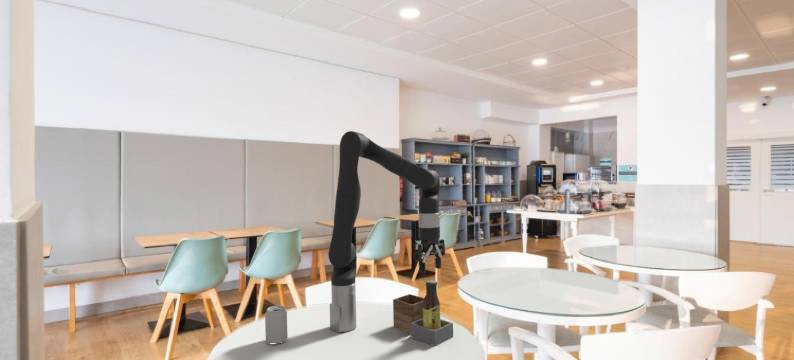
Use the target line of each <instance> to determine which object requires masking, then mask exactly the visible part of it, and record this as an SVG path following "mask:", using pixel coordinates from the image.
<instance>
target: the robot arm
mask: <svg viewBox="0 0 794 360" xmlns="http://www.w3.org/2000/svg"><path fill="white" fill-rule="evenodd" d="M360 158H363V159H367V160H369V161H371V162H374V163H376V164H378V165H379V166H381V167H383V168H384V169H385V170H387V171H389V172H390V173H391V174H394V175H395V176H398V177H400V178H403V179H404V180H407V181H408V182H410V183H411V184H412V185H414V186H415V187H417V188H420V189H421V195H420V198H419V199H418V239H420V243H415V244H414V245H413V246H414V247H413V248H414V249H413V260H414V262H418V272H419V273H421V274H426V260H427V258H429V255H432V254H433V256H434V267H435V269H441V268H442V258H443V256H446V246H445V245H446V244H445V239H442V238H441V224H440V223H441V220H440V213H439V209H440V208H439V205H440V204H439V196H440V187H441V182H440V181H441V179H440V175H439V174H438V172H437V171H436V170H433V169H428V168H427V169H426V168H424V167H422V166H420V165H419V164H418V165H417V163H416V162H414V161H412V160H411V159H409V158H407V157H405V156H403V155H400V154H398V153H395V152H393V151H390V150H388V149H386V148H384V147H382V146H380V145H379V144H377V143H376V142H374V141H373V140H371V139H370V138H368V137H367V136H366V135H365V134H363V133H360V132H357V131H353V130H348V131H346V132H345V133H343V135H342V136H341V138H340V142H339V166H338V167H339V169H338V176H337V188H336V194H335V205H334V215H333V230H332V235H331V240H330V244H329V249H328V253H327V255H328V260H329V262H330V264H331V265H332V266H333V269H332V274H331V279H330V280H331V281H330V282H331V287H330V288H331V303H329V328H330V330H333V331H334V332H337V333H339V334H340V333H346V332H347V333H348V332H351V331H353V330H356V328H357V300H356V299H357V295H356V293H357V291H356V278H357V277H356V275H357V250H356V246H355V245H354V243H352V238H353V236H352V235H353V230H354V226H355V223H356V220H357V217H358V215H359V210H360V204H361V197H362V190H361V184H360V180H359V174H358V173H359V172H358V170H359V169H358V166H359V160H360Z"/></svg>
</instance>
